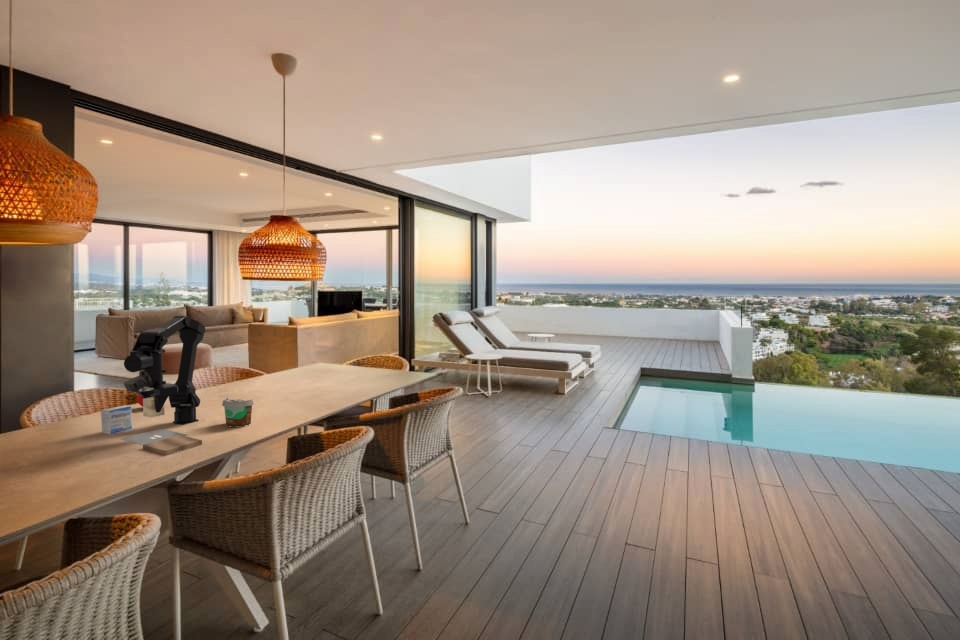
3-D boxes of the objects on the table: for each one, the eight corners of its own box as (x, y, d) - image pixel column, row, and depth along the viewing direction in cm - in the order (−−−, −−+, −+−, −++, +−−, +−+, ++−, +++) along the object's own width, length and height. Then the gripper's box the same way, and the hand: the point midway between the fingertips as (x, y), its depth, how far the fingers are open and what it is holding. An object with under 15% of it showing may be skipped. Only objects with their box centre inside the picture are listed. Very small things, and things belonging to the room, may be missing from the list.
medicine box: (110, 435, 171) (109, 411, 170) (101, 433, 172) (100, 409, 172) (132, 429, 178) (131, 405, 178) (123, 427, 180) (123, 404, 179)
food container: (214, 426, 183) (214, 400, 183) (226, 422, 189) (226, 397, 189) (242, 429, 181) (242, 403, 180) (253, 424, 186) (253, 399, 186)
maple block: (156, 412, 171) (156, 396, 171) (164, 414, 169) (164, 397, 169) (143, 415, 167) (142, 398, 167) (151, 417, 165) (150, 400, 165)
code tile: (161, 429, 179) (161, 428, 179) (188, 435, 172) (188, 434, 172) (119, 439, 166) (119, 438, 166) (147, 446, 159) (147, 446, 159)
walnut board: (179, 439, 168) (179, 434, 168) (202, 444, 163) (201, 440, 163) (143, 449, 157) (142, 444, 157) (165, 455, 152) (165, 450, 152)
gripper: (111, 368, 164) (112, 413, 165) (144, 373, 156) (145, 420, 157) (145, 363, 174) (147, 406, 175) (178, 368, 166) (179, 412, 167)
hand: (153, 411), depth 168 cm, fingers closed on maple block, 4 cm apart
